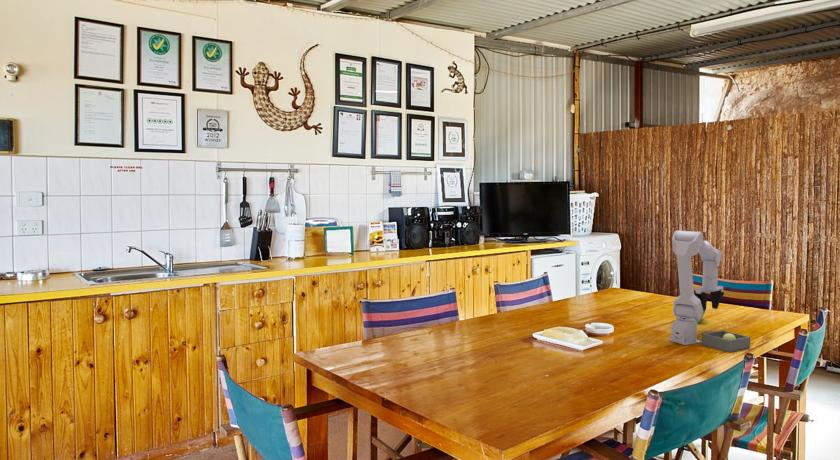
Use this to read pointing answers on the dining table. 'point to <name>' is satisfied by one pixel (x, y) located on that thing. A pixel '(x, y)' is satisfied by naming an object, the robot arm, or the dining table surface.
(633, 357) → the dining table surface
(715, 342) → the tub
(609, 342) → the dining table surface
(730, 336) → the lime
